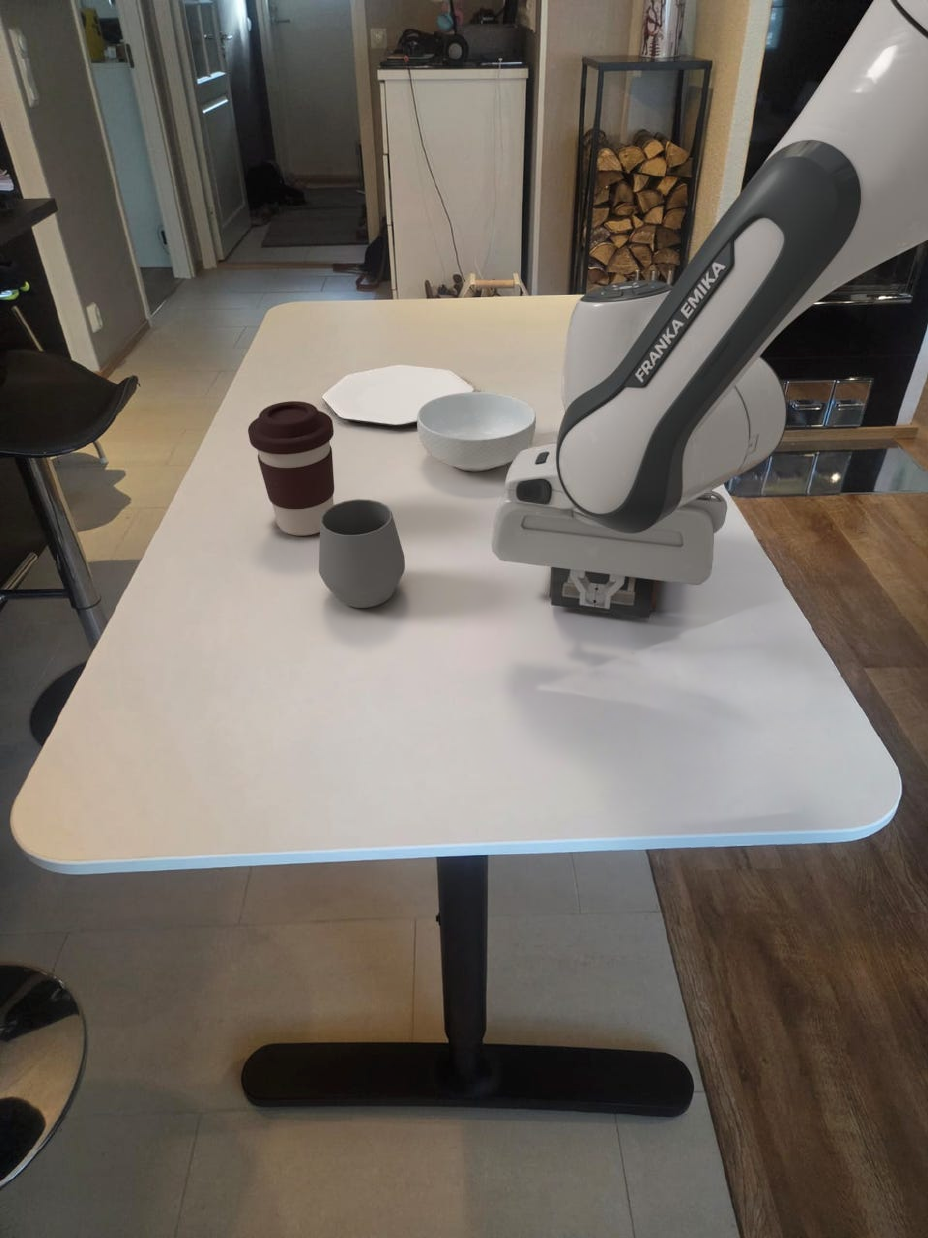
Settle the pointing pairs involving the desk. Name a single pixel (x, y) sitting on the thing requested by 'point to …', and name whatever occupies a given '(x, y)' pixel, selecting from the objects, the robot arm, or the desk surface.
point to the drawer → (625, 601)
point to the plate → (391, 393)
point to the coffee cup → (295, 463)
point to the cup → (360, 552)
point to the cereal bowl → (476, 429)
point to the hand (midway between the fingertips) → (595, 603)
